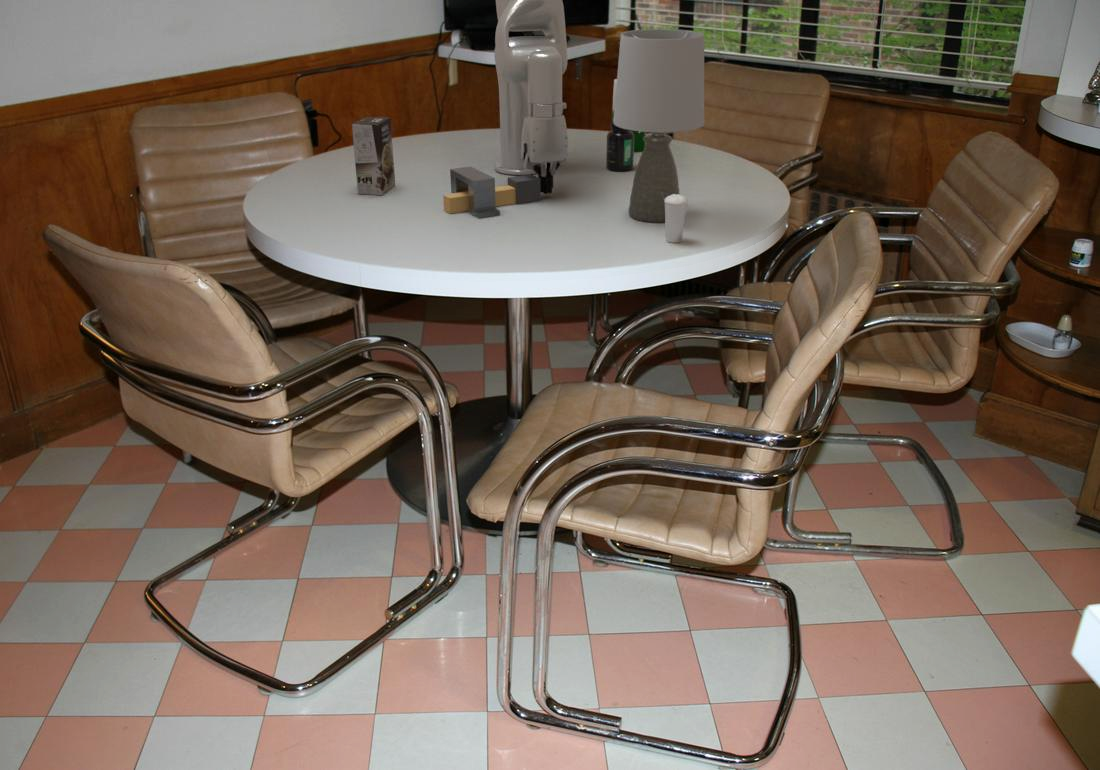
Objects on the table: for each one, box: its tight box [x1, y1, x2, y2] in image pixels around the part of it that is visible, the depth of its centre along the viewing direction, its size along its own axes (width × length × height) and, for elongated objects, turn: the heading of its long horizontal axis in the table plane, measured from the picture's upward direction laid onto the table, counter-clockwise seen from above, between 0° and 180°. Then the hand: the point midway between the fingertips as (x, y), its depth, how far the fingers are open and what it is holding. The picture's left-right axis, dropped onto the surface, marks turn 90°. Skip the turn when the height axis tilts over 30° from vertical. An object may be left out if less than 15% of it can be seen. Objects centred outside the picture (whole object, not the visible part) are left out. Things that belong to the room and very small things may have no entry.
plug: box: [443, 174, 542, 214], centre depth 219 cm, size 22×4×5 cm, turn 119°
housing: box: [449, 166, 501, 219], centre depth 216 cm, size 5×16×8 cm, turn 30°
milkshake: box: [661, 193, 689, 244], centre depth 194 cm, size 5×5×10 cm
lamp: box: [613, 28, 705, 223], centre depth 204 cm, size 19×19×37 cm
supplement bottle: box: [605, 119, 635, 173], centre depth 246 cm, size 7×7×12 cm
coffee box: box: [351, 116, 396, 196], centre depth 228 cm, size 9×6×16 cm
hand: (545, 192), depth 225 cm, fingers closed
